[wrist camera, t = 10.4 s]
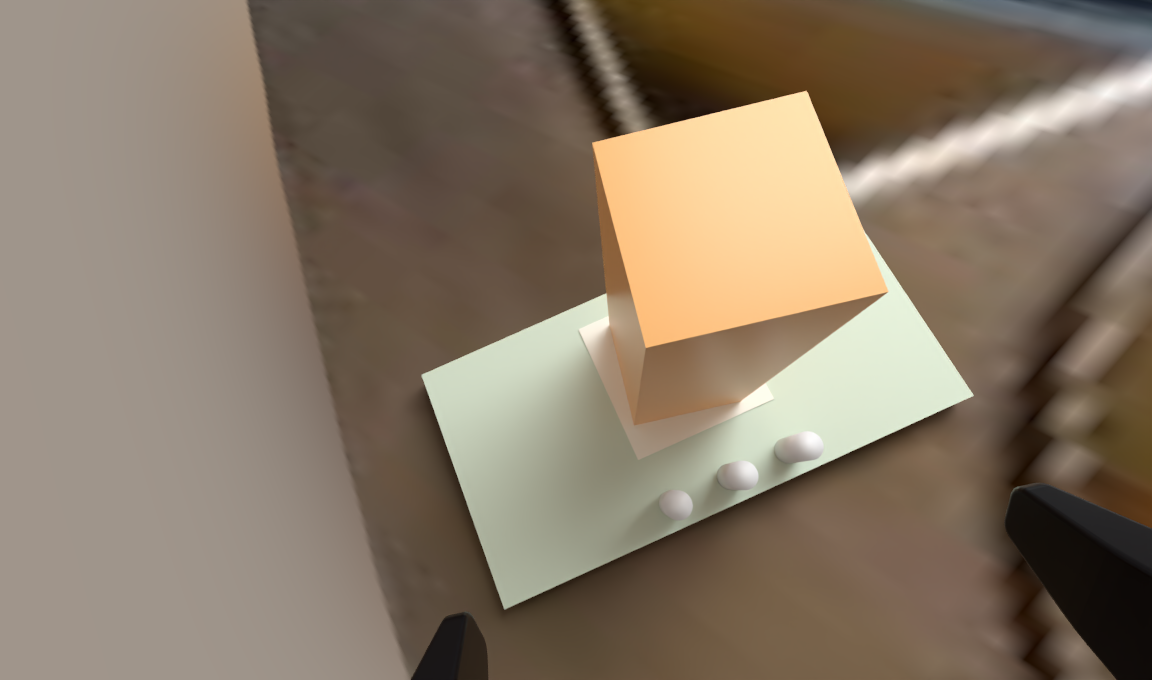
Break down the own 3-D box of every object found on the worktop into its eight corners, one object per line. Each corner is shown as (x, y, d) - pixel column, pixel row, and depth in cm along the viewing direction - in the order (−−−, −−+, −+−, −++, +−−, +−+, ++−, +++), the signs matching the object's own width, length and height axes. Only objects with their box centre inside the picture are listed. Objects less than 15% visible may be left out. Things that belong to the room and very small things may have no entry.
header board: (955, 400, 22) (1018, 383, 18) (510, 603, 21) (488, 625, 18) (827, 205, 25) (861, 158, 21) (431, 380, 24) (397, 361, 21)
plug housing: (740, 401, 22) (888, 292, 9) (634, 425, 22) (645, 347, 10) (710, 301, 23) (806, 90, 11) (609, 324, 23) (592, 143, 11)
